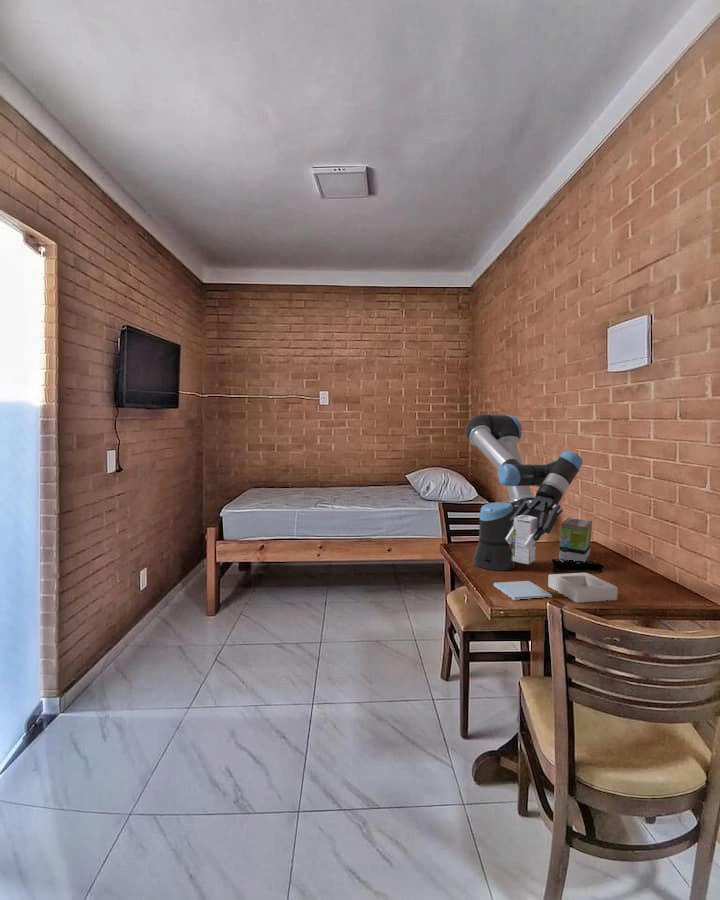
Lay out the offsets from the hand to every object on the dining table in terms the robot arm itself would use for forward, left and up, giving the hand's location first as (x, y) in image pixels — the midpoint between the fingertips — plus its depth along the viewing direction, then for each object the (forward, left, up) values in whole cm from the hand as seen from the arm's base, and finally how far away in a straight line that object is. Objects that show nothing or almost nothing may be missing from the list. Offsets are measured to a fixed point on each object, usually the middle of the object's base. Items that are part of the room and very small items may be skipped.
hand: (517, 544), depth 153 cm
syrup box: (-1, +3, -6) cm, 7 cm away
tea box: (-34, +47, -16) cm, 61 cm away
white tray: (+3, +22, -16) cm, 28 cm away
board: (-1, +3, -16) cm, 16 cm away
